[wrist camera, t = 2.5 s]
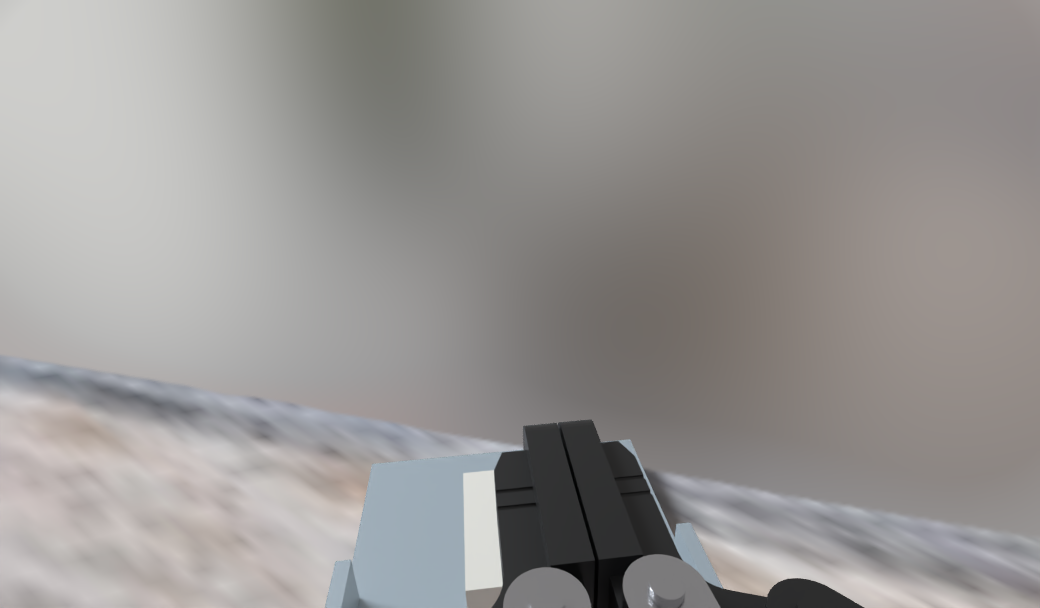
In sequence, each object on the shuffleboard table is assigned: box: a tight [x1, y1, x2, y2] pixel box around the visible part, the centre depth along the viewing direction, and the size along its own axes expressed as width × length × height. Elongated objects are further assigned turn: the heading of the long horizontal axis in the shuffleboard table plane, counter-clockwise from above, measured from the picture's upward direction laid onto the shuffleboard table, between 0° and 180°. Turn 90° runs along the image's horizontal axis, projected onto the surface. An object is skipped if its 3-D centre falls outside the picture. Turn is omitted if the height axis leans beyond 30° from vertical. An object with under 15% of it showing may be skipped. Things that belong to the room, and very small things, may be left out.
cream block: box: [463, 470, 503, 608], centre depth 24 cm, size 6×5×10 cm
